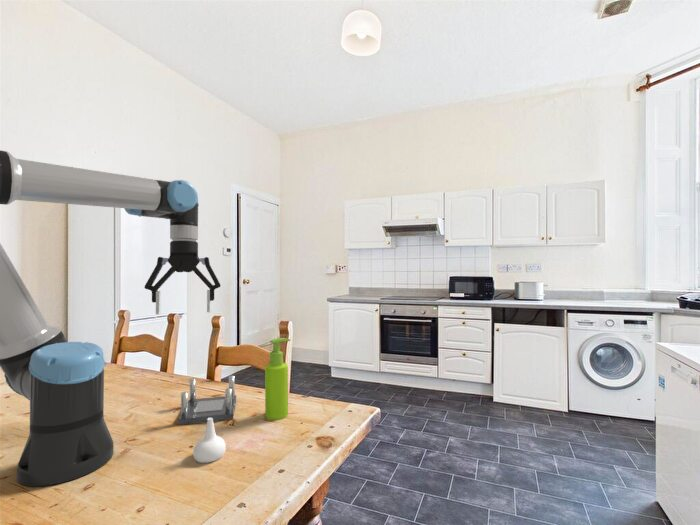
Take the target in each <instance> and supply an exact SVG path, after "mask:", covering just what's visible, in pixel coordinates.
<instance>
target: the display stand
mask: <svg viewBox="0 0 700 525" xmlns="http://www.w3.org/2000/svg"><path fill="white" fill-rule="evenodd" d="M235 379H236V378H235V375H229V376H228V387H227V388H225V390H224V392H225V393H224V394H225V396H214V397H213V396H212V397H204V398H197V397H196V395H197V394H196V389H197V386H196V385H197V383H196V378H191V379H189V392H188V391H182V392H181V393H180V415H179V417H178V421H177V422H178V424H177V425H178V426H183V425H192V424H193V425H194V424H202V423H207V421H208V420H207V419H208V418H213V422H220V421H221V422H222V421H229V420H230V421H231V420H234V417H235V412H236V411H235V410H236V406H237V395H235V390H236V389H235V382H236V381H235Z"/></svg>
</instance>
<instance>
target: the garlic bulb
mask: <svg viewBox="0 0 700 525" xmlns="http://www.w3.org/2000/svg"><path fill="white" fill-rule="evenodd" d="M207 420H208V421H207V422H206V429H205V432H204V434H205V435H204V437H202V438H201V439H199V441H197V443H196V444H195V445H194V448H193V451H192V453H193V455H192V456H193V458H194V460H195V461H196V462H198V463H201V464H206V463H207V464H208V463H212V462H216V461H218V460H219V459H221V458H222V457H223V456H224V455H225V453H226V447H227V445H226V441H225V440H224V439H223V437H221V436H219V435H217V434H216V429H215V424H214V421H213V418H208V419H207Z"/></svg>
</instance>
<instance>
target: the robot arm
mask: <svg viewBox="0 0 700 525" xmlns="http://www.w3.org/2000/svg"><path fill="white" fill-rule="evenodd" d="M15 201H27V202H38V203H50V204H52V203H53V204H65V205H75V206H76V205H77V206H78V205H80V206H81V205H82V206H89V207H90V206H91V207H92V206H93V207H101V208H102V207H104V208H119V209H124V210H125V213H126V214H128V215H131V216H132V215H133V216H138V217H146V218H147V217H148V218H155V219H156V218H158V219H164V220H169V239H170V240H171V241H170V242H169V257H162V256H159V257H157V262H156V265H155V267H154V269H153V270H152V273H151V274H150V276H149V277H148V279H147V281H146V283H145V285H144V289H145V290H149V291H151V302H152V303H155V315H160V314H161V312H162V311H161V308H162V307H161V306H162V305H161V304H162V302H161V301H162V300H161V298H162V296H161V292H162V291H161V290H159V289H160V288H161V287H162V286H163V285H164V283H165V282H166V281H167V280H169V279H170V277H171V276H172V275H173V274H175V272H176V273H191V272H194V274H195V275H196V276H197V277H198V278H199V279H200V280H201V281H202V282H203V283H204V284H205V285H206V286H207V287H208V289H207V291H206V313H211V302H212V301H214V300H215V290H216V289H219V288H221V283H220V281H219V279H218V277H217V275H216V274H215V271H214V270H213V268H212V266H211V264H210V258H209V257H207V256H206V257H202V258H201V257H199V242H198V240H199V195H198V192H197V190H196V188H195V186H194V185H193V184H192V183H191V182H189V181H187V180H183V179H178V180H177V179H175V180H171V181H167V180H162V179H153V178H146V177H140V176H133V175H125V174H119V173H113V172H106V171H100V170H94V169H87V168H80V167H73V166H67V165H62V164H54V163H46V162H41V161H33V160H28V159H22V158H16V157H14V156H13V155H12V154H11V153H10V152H9V151H6V150H0V205H6V206H8V205H10V204H12V203H13V202H15ZM167 263H168V264H169V265H170V266H171V267H169V269H168V270H167V271H166V272H165V274H164V275H163V276H161V278H159V279H158V281H157V282H156V283H155V284H154V282H155V281H156V279H157V277H158V275H159V274H160V272H161V270H162V268H163V266H164V265H166V264H167ZM200 263H201V264H202V265H203V266H205V268H206V270H207V272H208V273H209V276H210V278H211V279H212V281H213V283H214V284H212V282H210V280H209V279H208V278H207V277H206V276H205V275H204V274H203V273H202V272H201V271H200V269H199V268H198V267H197V266H198V265H199V264H200ZM153 284H154V285H153ZM105 364H106V361H105V358H104V351H103V349H102V347H101V346H99V345H98V344H96V343H92V342H82V341H68V339H67V338H66V336H65V335H64V332H63V331H62V329H61V328H60V327H59V326H58V327H56V326H53V325H49V324H48V322H47V321H46V318H45V317H44V315H43V314H42V312H41V310H40V308H39V307H38V305H37V304H36V301H35V300H34V298H33V296H32V295H31V294H30V292H29V290H28V288H27V287H26V284H25V283H24V281H23V280H22V277H21V275H20V274H19V273H18V271H17V269H16V268H15V266H14V264H13V262H12V261H11V259H10V257H9V255H8V253H7V252H6V251H5V248H4V247H3V245H2V244H1V242H0V369H1V371H2V372H3V374H4V378H5V383H6V385H7V386H8V387H9V388H10V389H11V390H12V391H13V392H15V393H16V394H18V395H19V396H23V397H24V398H25V399H27V400H28V401H29V433H28V437H27V440H26V441H25V442H26V443H25V445H24V447H23V450H22V453H21V455H20V458H19V460H18V463H17V465H16V466H17V467H16V482H17V483H19V484H20V485H22V486H25V487H44V486H46V487H47V486H51V485H57V484H61V483H65V482H68V481H72V480H75V479H78V478H81V477H83V476H86V475H88V474H90V473H92V472H95V471H96V470H98V469H100V468H101V467H103V466H104V465H106V464H107V463H108V462H109V461H110V460H111V459H112V458H113V456H114V440H113V437H112V434H111V433H110V431H109V428H108V426H107V423H106V421H105V418H104V409H105V408H104V405H105V404H104V403H105V402H104V401H105V400H104V399H105V396H104V395H105V394H104V392H105V391H104V390H105V367H106V366H105Z"/></svg>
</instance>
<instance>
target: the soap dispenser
mask: <svg viewBox="0 0 700 525" xmlns="http://www.w3.org/2000/svg"><path fill="white" fill-rule="evenodd" d="M290 341H291V339H289V338H285V337H279V338H274V339H271V340H269V343H271V344H272V351H270V352H269V363H268V364H266V365H264V367H265V368H264V380H265V383H264V392H265V393H264V396H265V397H264V398H265V400H264V401H265V406H264V408H265V410H264V411H265V418H266V419H267V420H272V421H273V420H276V421H277V420H282V419H285V418H286V417H288V415H289V380H288V379H289V374H288V373H289V371H288V370H289V365H288V363H285V362H284V351H282V350H280V348H281V346H280V344H281V343H282V342H290Z"/></svg>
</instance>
